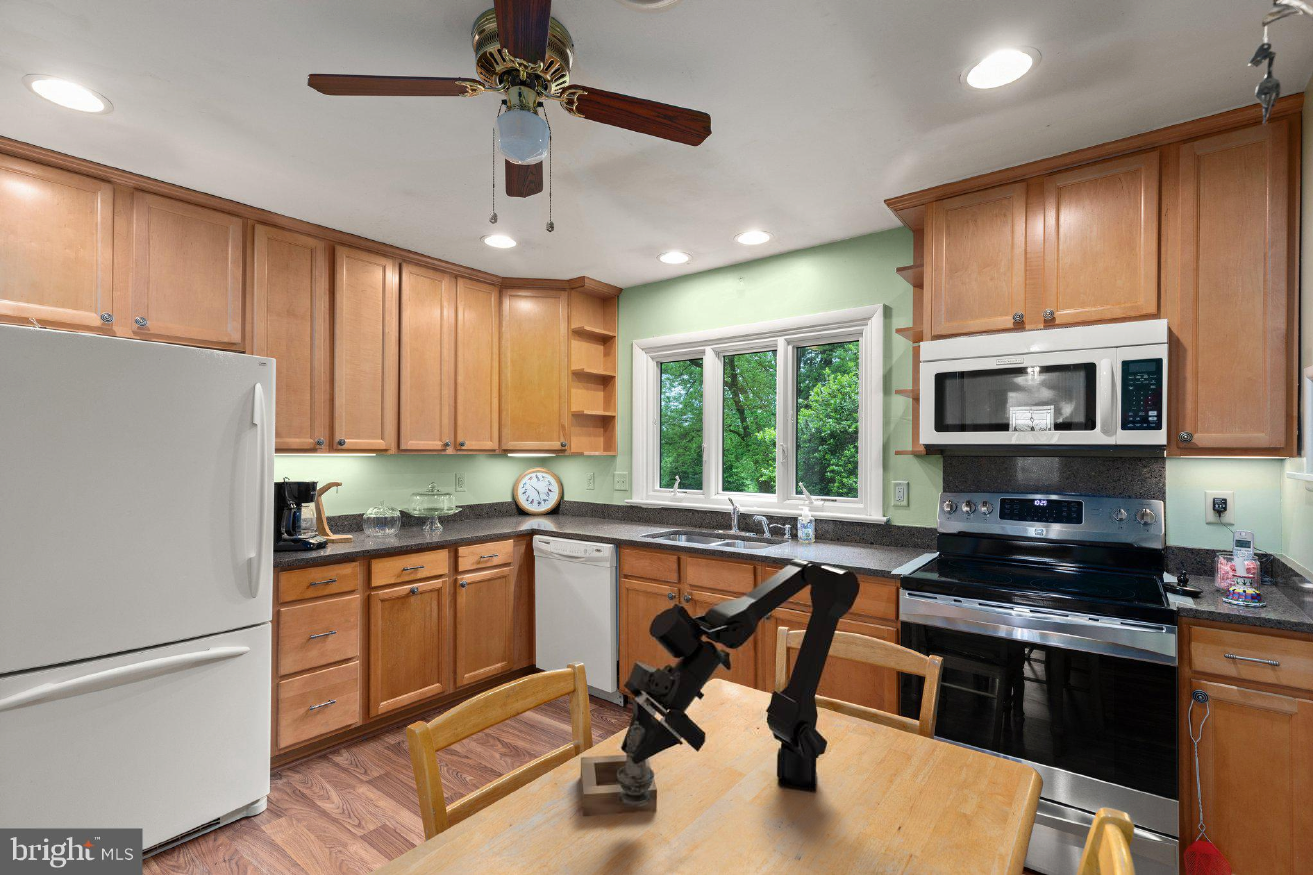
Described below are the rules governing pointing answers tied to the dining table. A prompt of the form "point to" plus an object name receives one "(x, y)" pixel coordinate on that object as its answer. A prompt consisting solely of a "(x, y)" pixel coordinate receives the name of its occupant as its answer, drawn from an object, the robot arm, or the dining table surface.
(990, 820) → the dining table surface
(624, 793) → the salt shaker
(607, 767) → the holder
